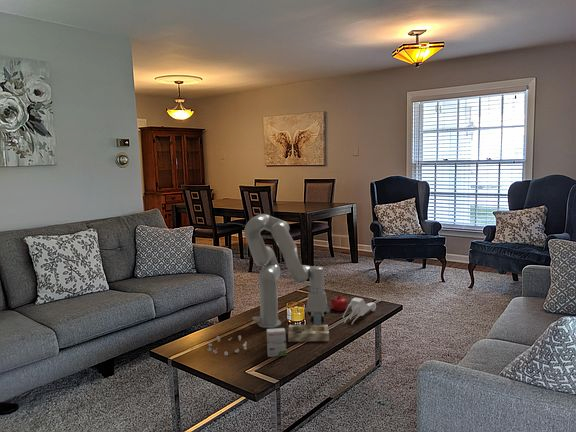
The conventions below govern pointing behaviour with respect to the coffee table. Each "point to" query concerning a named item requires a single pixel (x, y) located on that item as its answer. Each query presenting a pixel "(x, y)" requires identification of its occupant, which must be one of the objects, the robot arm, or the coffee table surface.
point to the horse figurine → (359, 308)
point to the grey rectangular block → (317, 318)
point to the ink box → (276, 342)
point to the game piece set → (226, 352)
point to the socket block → (308, 333)
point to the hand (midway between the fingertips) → (317, 323)
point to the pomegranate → (339, 303)
